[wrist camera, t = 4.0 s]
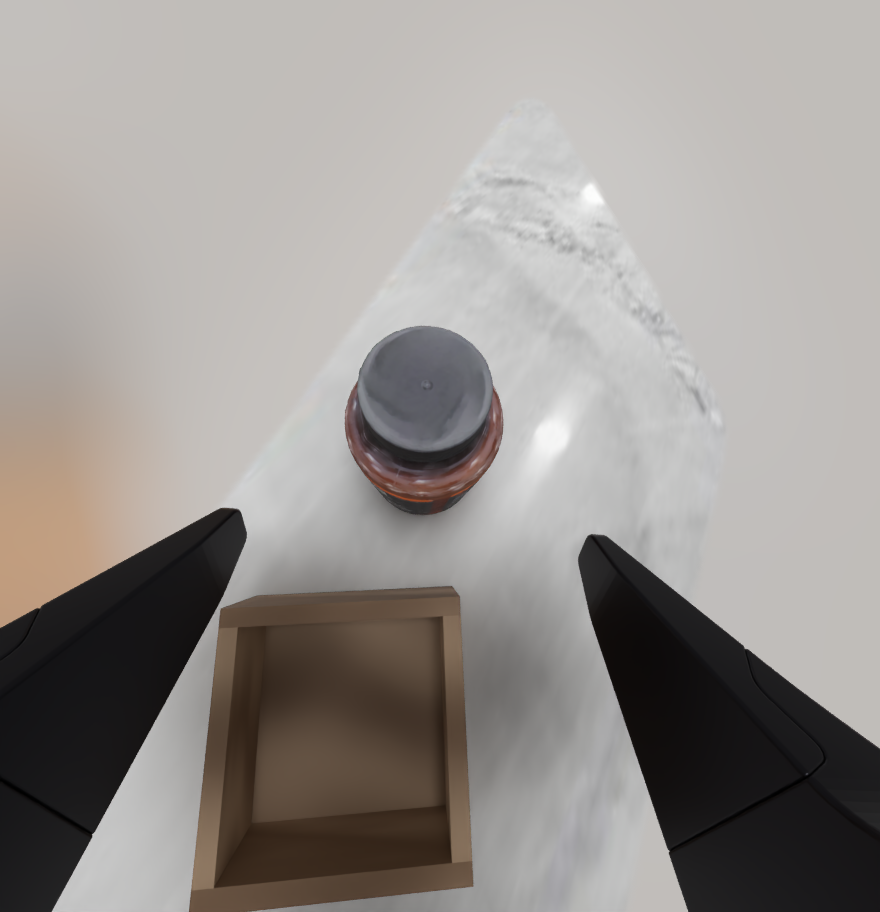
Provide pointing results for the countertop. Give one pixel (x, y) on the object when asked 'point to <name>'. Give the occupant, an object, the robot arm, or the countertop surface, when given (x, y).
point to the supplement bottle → (424, 418)
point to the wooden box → (334, 751)
